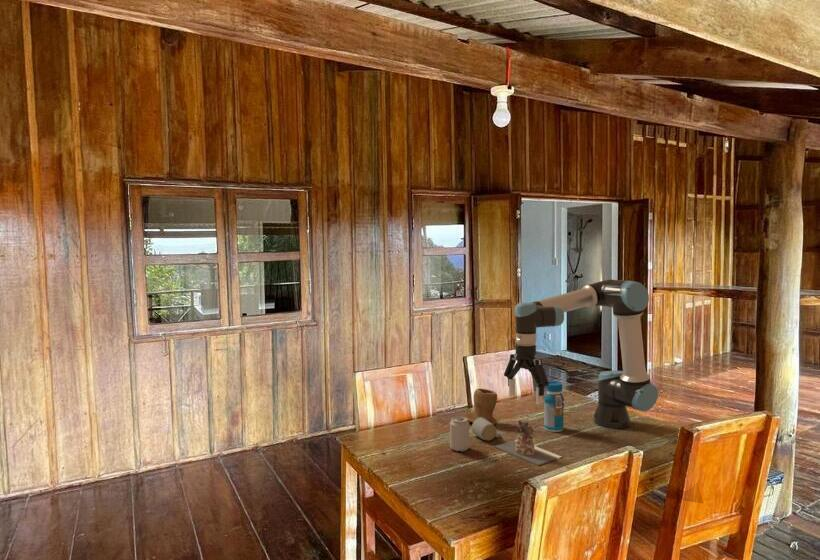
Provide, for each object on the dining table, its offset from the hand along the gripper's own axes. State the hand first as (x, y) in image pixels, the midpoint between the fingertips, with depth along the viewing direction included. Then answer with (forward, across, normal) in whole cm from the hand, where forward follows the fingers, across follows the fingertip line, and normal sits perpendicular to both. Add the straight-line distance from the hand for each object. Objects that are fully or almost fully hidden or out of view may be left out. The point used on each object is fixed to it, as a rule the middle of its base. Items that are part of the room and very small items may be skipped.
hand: (525, 399), depth 202 cm
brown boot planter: (+21, -36, +11) cm, 43 cm away
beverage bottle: (+21, -11, +30) cm, 38 cm away
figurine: (+20, 0, 0) cm, 20 cm away
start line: (+21, 0, +7) cm, 22 cm away
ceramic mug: (+21, -21, 0) cm, 29 cm away
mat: (+21, 0, 0) cm, 21 cm away
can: (+21, -18, -17) cm, 32 cm away
